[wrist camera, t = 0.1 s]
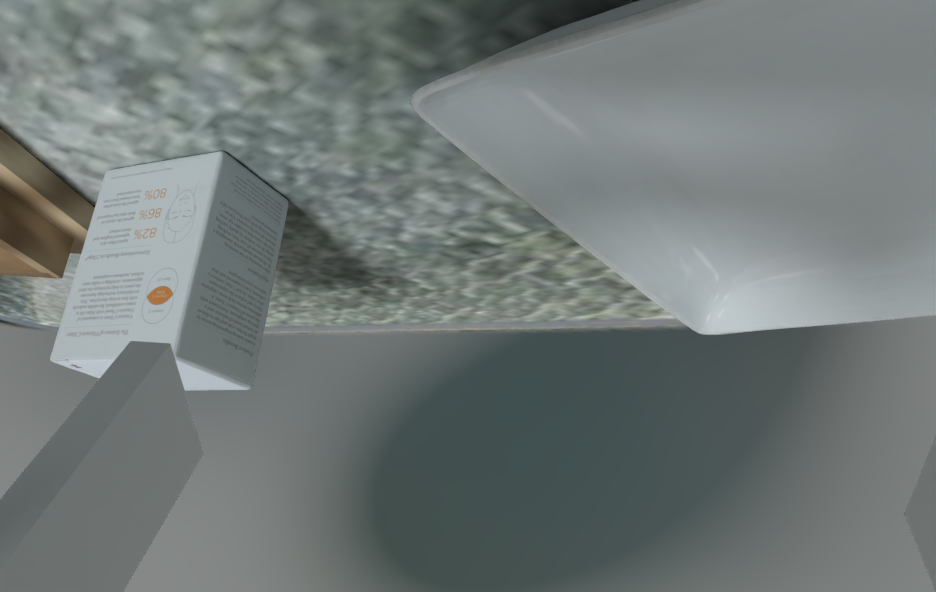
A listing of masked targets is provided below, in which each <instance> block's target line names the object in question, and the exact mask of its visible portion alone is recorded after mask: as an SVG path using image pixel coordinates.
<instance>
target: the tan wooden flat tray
mask: <svg viewBox="0 0 936 592" xmlns="http://www.w3.org/2000/svg"><path fill="white" fill-rule="evenodd" d="M94 209H95V207H93V206H92V205H91V204H90V203H89V202H87V201H86V200H85V199H84V198H83V197H81V196H80V195H79V194H78V193H77V192H76V191H74V190H73V189H72V188H71V187H70V186H68V185H67V184H66V183H65V182H64V181H62V180H61V179H60V178H59V177H58V176H56V175H55V174H54V173H53V172H52V171H51V170H49V169H48V168H47V167H46V166H45V165H43V164H42V163H41V162H40V161H39V160H37V159H36V158H35V157H34V156H33V155H31V154H30V153H29V152H28V151H27V150H26V149H24V148H23V147H22V146H21V145H20V144H18V143H17V142H16V141H15V140H14V139H12V138H11V137H10V136H9V135H8V134H6V133H5V132H4V131H3V130H2V129H1V128H0V275H16V276H31V277H46V278H61V279H62V277H63V273H64V270H65V267H66V264H67V260H68V257H69V254H70V253H79V254H81V253H82V249H83V246H84V243H85V239H86V236H87V233H88V229H89V226H90V222H91V219H92V216H93V212H94Z"/></svg>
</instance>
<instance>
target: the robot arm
mask: <svg viewBox="0 0 936 592" xmlns="http://www.w3.org/2000/svg"><path fill="white" fill-rule="evenodd" d="M203 454H204V453H203V450H202V447H201V443H200V440H199V437H198V433H197V430H196V427H195V424H194V420H193V417H192V414H191V411H190V407H189V403H188V400H187V397H186V394H185V390H184V387H183V384H182V380H181V377H180V374H179V370H178V367H177V364H176V360H175V357H174V354H173V350H172V347H171V344H170V343H155V342H140V341H130V342H129V344H128V345H127V346H126V347H125V348H124V350H123V351H122V352H121V353H120V355H119V356H118V357H117V358H116V359H115V361H114V362H113V363H112V364H111V365H110V367H109V368H108V369H107V370H106V372H105V373H104V374H103V375H102V376H101V378H100V379H99V380H98V381H97V382H96V384H95V385H94V386H93V387H92V389H91V390H90V391H89V392H88V394H87V395H86V396H85V397H84V398H83V399H82V401H81V402H80V403H79V404H78V405H77V407H76V408H75V409H74V410H73V412H72V413H71V414H70V415H69V416H68V418H67V419H66V420H65V421H64V423H63V424H62V425H61V426H60V427H59V429H58V430H57V431H56V432H55V433H54V435H53V436H52V437H51V438H50V439H49V441H48V442H47V443H46V444H45V445H44V447H43V448H42V449H41V450H40V452H39V453H38V454H37V455H36V456H35V458H34V459H33V460H32V461H31V462H30V464H29V465H28V466H27V467H26V468H25V470H24V471H23V472H22V473H21V475H20V476H19V477H18V478H17V479H16V481H15V482H14V483H13V484H12V485H11V487H10V488H9V489H8V490H7V491H6V493H5V494H4V495H3V497H2V498H1V499H0V592H123V591H124V590H125V588H126V586H127V584H128V583H129V581H130V579H131V578H132V576H133V574H134V573H135V571H136V569H137V567H138V566H139V564H140V562H141V561H142V559H143V557H144V555H145V554H146V552H147V550H148V548H149V547H150V545H151V543H152V542H153V540H154V538H155V536H156V535H157V533H158V531H159V530H160V528H161V526H162V525H163V523H164V521H165V519H166V518H167V516H168V514H169V512H170V510H171V509H172V507H173V506H174V504H175V502H176V500H177V499H178V497H179V495H180V493H181V492H182V490H183V488H184V487H185V485H186V483H187V482H188V480H189V478H190V476H191V475H192V473H193V471H194V469H195V468H196V466H197V464H198V463H199V461H200V459H201V457H202V456H203ZM904 515H905V518H906V520H907V523H908V525H909V527H910V530H911V532H912V535H913V537H914V540H915V542H916V545H917V547H918V550H919V552H920V554H921V557H922V559H923V562H924V564H925V567H926V569H927V572H928V574H929V577H930V579H931V582H932V584H933V586H934V589H935V591H936V437H935V439H934V442H933V444H932V447H931V449H930V452H929V454H928V456H927V459H926V461H925V464H924V466H923V469H922V471H921V473H920V476H919V478H918V481H917V483H916V486H915V488H914V491H913V493H912V495H911V498H910V500H909V503H908V505H907V508H906V510H905V512H904Z"/></svg>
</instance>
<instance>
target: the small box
mask: <svg viewBox="0 0 936 592" xmlns="http://www.w3.org/2000/svg"><path fill="white" fill-rule="evenodd" d="M288 205H289V204H288V200H287V199H286V198H284V197H283V196H282V195H280V194H279V193H278V192H276V191H275V190H274V189H272V188H271V187H270V186H268V185H267V184H266V183H264V182H263V181H262V180H260V179H259V178H258V177H257V176H255V175H254V174H253V173H251V172H250V171H249V170H248V169H246V168H245V167H244V166H242V165H241V164H240V163H239V162H237V161H236V160H235V159H233V158H232V157H231V156H229V155H228V154H227V153H225V152H224V151H218V152H212V153H206V154H200V155H194V156H188V157H182V158H176V159H170V160H165V161H159V162H153V163H147V164H141V165H135V166H129V167H124V168H118V169H112V170H108V171H106V173H105V176H104V179H103V183H102V186H101V189H100V192H99V196H98V199H97V203H96V206H95V209H94V212H93V216H92V219H91V222H90V226H89V229H88V233H87V236H86V239H85V243H84V246H83V249H82V253H81V256H80V259H79V263H78V266H77V270H76V273H75V277H74V280H73V283H72V287H71V290H70V294H69V297H68V300H67V304H66V308H65V311H64V314H63V317H62V321H61V324H60V327H59V331H58V334H57V337H56V341H55V345H54V348H53V351H52V354H51V357H50V360H51V361H52V362H54V363H57V364H60V365H63V366H65V367H68V368H71V369H74V370H77V371H80V372H83V373H86V374H89V375H91V376H94V377H98V378H101V376H102V375H103V374H104V373H105V372H106V370H107V369H108V368H109V367H110V365H111V364H112V363H113V362H114V361H115V359H116V358H117V357H118V356H119V355H120V353H121V352H122V351H123V350H124V348H125V347H126V346H127V345H128V344H129V342H130V341H140V342H155V343H170V344H171V347H172V350H173V354H174V357H175V360H176V364H177V367H178V370H179V374H180V377H181V380H182V384H183V387H184V390H249V389H251V388H252V386H253V382H254V377H255V372H256V367H257V362H258V356H259V351H260V347H261V341H262V336H263V331H264V326H265V321H266V317H267V312H268V307H269V301H270V296H271V292H272V286H273V281H274V276H275V271H276V266H277V261H278V256H279V251H280V246H281V241H282V236H283V231H284V226H285V221H286V216H287V211H288Z"/></svg>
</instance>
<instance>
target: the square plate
mask: <svg viewBox="0 0 936 592" xmlns="http://www.w3.org/2000/svg"><path fill="white" fill-rule="evenodd" d="M410 104H411V106H412V108H413V109H414V110H415V112H416V113H417V114H418V115H419V116H420V117H421V118H422V119H424V120H425V121H426V122H427V123H428V124H429V125H431V126H432V127H433V128H434V129H436V130H437V131H438V132H439V133H440V134H442V135H443V136H444V137H445V138H447V139H448V140H449V141H450V142H451V143H453V144H454V145H455V146H456V147H458V148H459V149H460V150H461V151H462V152H464V153H465V154H466V155H467V156H469V157H470V158H471V159H472V160H473V161H475V162H476V163H477V164H478V165H480V166H481V167H482V168H483V169H485V170H486V171H487V172H488V173H490V174H491V175H492V176H493V177H495V178H496V179H497V180H498V181H500V182H501V183H502V184H503V185H504V186H506V187H507V188H508V189H510V190H511V191H512V192H513V193H515V194H516V195H517V196H518V197H520V198H521V199H522V200H523V201H525V202H526V203H527V204H529V205H530V206H531V207H532V208H534V209H535V210H536V211H537V212H539V213H540V214H541V215H543V216H544V217H545V218H546V219H548V220H549V221H550V222H551V223H553V224H554V225H555V226H556V227H558V228H559V229H560V230H562V231H563V232H564V233H566V234H567V235H568V236H569V237H571V238H572V239H573V240H574V241H576V242H577V243H578V244H579V245H581V246H582V247H583V248H585V249H586V250H587V251H589V252H590V253H591V254H593V255H594V256H595V257H596V258H598V259H599V260H600V261H602V262H603V263H604V264H605V265H607V266H608V267H609V268H611V269H612V270H613V271H615V272H616V273H617V274H618V275H620V276H621V277H622V278H624V279H625V280H626V281H628V282H629V283H630V284H632V285H633V286H634V287H635V288H637V289H638V290H639V291H641V292H642V293H643V294H644V295H646V296H647V297H648V298H650V299H651V300H653V301H654V302H655V303H657V304H658V305H659V306H660V307H662V308H663V309H664V310H666V311H667V312H668V313H670V314H671V315H672V316H674V317H675V318H677V319H678V320H679V321H681V322H682V323H684V324H685V325H686V326H688V327H690V328H691V329H693V330H694V331H696V332H697V333H699V334H705V335H721V334H730V333H739V332H749V331H759V330H771V329H782V328H792V327H809V326H821V325H834V324H846V323H856V322H870V321H879V320H891V319H900V318H911V317H922V316H932V315H936V0H639V1H636V2H633V3H630V4H627V5H624V6H621V7H618V8H615V9H612V10H609V11H606V12H603V13H601V14H598V15H595V16H592V17H589V18H586V19H583V20H579V21H576V22H573V23H570V24H567V25H565V26H562V27H559V28H557V29H554V30H552V31H549V32H547V33H544V34H542V35H540V36H537V37H535V38H532V39H530V40H527V41H525V42H523V43H520V44H518V45H515V46H513V47H511V48H508V49H506V50H504V51H501V52H499V53H497V54H495V55H492V56H490V57H488V58H486V59H483V60H481V61H479V62H477V63H475V64H473V65H471V66H469V67H467V68H465V69H463V70H460V71H458V72H455V73H453V74H451V75H448V76H446V77H443V78H441V79H438V80H436V81H434V82H431V83H429V84H427V85H425V86H423V87H421V88H420V89H418V90H417V91H416V92H415V93H413V95H412V96H411V99H410Z"/></svg>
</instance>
